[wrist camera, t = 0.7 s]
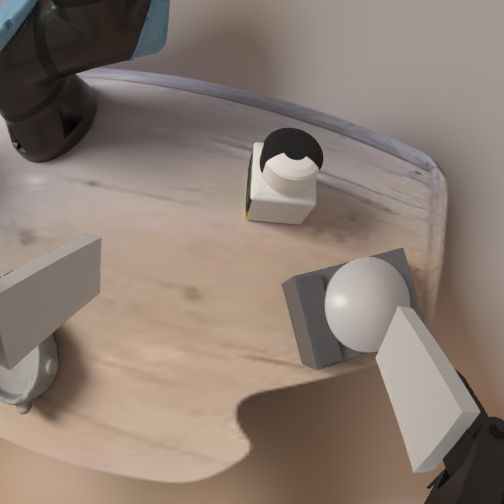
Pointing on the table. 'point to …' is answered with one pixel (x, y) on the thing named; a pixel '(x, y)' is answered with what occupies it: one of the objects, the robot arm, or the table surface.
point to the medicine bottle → (283, 177)
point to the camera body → (348, 306)
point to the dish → (30, 376)
